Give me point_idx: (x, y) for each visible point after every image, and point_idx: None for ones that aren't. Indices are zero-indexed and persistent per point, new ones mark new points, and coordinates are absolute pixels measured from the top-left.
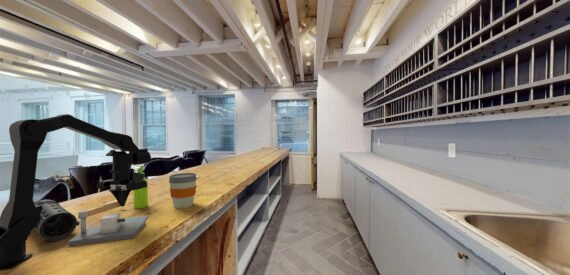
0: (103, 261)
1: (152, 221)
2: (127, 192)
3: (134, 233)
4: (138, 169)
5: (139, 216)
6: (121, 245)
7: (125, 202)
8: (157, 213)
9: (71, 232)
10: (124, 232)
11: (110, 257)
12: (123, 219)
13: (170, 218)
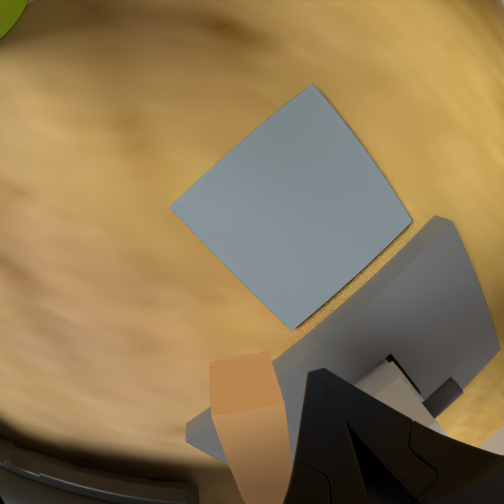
0: (487, 424)
1: (433, 160)
2: (475, 494)
3: (497, 344)
4: None
5: (253, 133)
6: (482, 384)
7: (354, 389)
8: (305, 9)
9: (197, 486)
10: (462, 371)
11: (492, 413)
12: (459, 393)
13: (478, 84)
